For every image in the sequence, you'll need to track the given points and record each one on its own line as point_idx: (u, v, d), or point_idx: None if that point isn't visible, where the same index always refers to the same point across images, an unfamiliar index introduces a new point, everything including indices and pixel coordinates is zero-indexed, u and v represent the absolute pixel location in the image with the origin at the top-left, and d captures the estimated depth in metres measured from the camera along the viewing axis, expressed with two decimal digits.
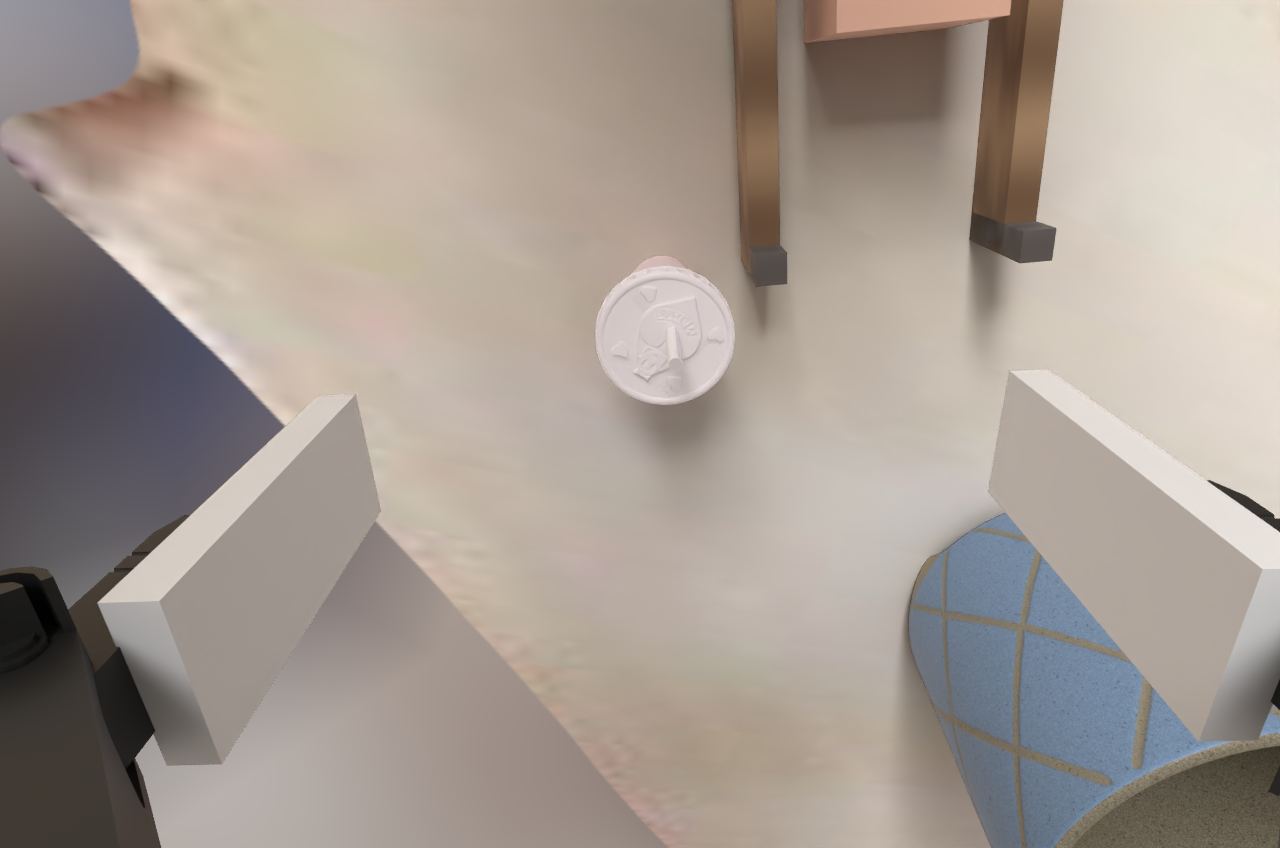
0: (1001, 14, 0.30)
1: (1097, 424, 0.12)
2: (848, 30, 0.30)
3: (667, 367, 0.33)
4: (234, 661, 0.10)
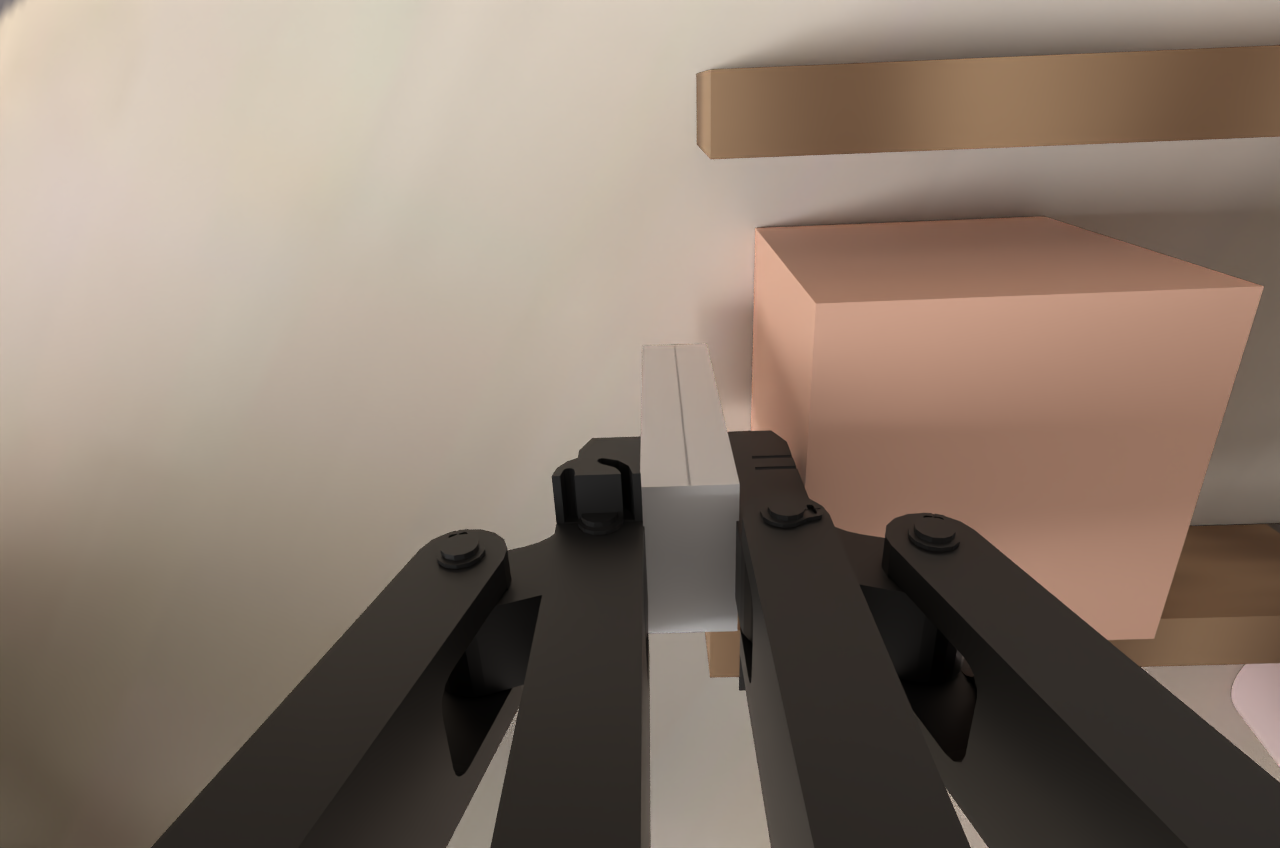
0: (1253, 307, 0.12)
1: (693, 385, 0.14)
2: (1156, 618, 0.14)
3: None
4: None
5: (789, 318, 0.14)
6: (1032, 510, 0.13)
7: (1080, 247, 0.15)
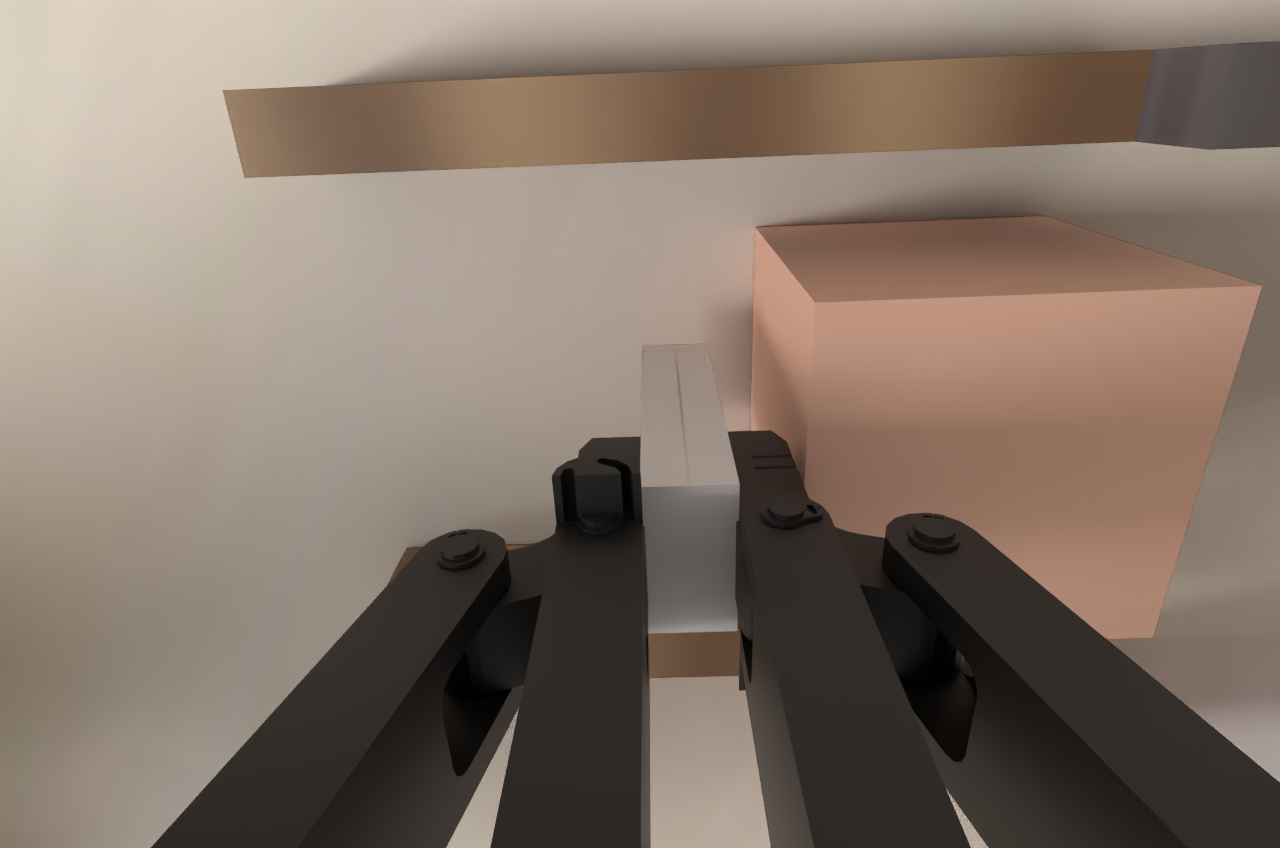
0: (1251, 306, 0.12)
1: (693, 385, 0.14)
2: (1155, 617, 0.14)
3: None
4: None
5: (788, 317, 0.14)
6: (1030, 510, 0.13)
7: (1079, 247, 0.15)
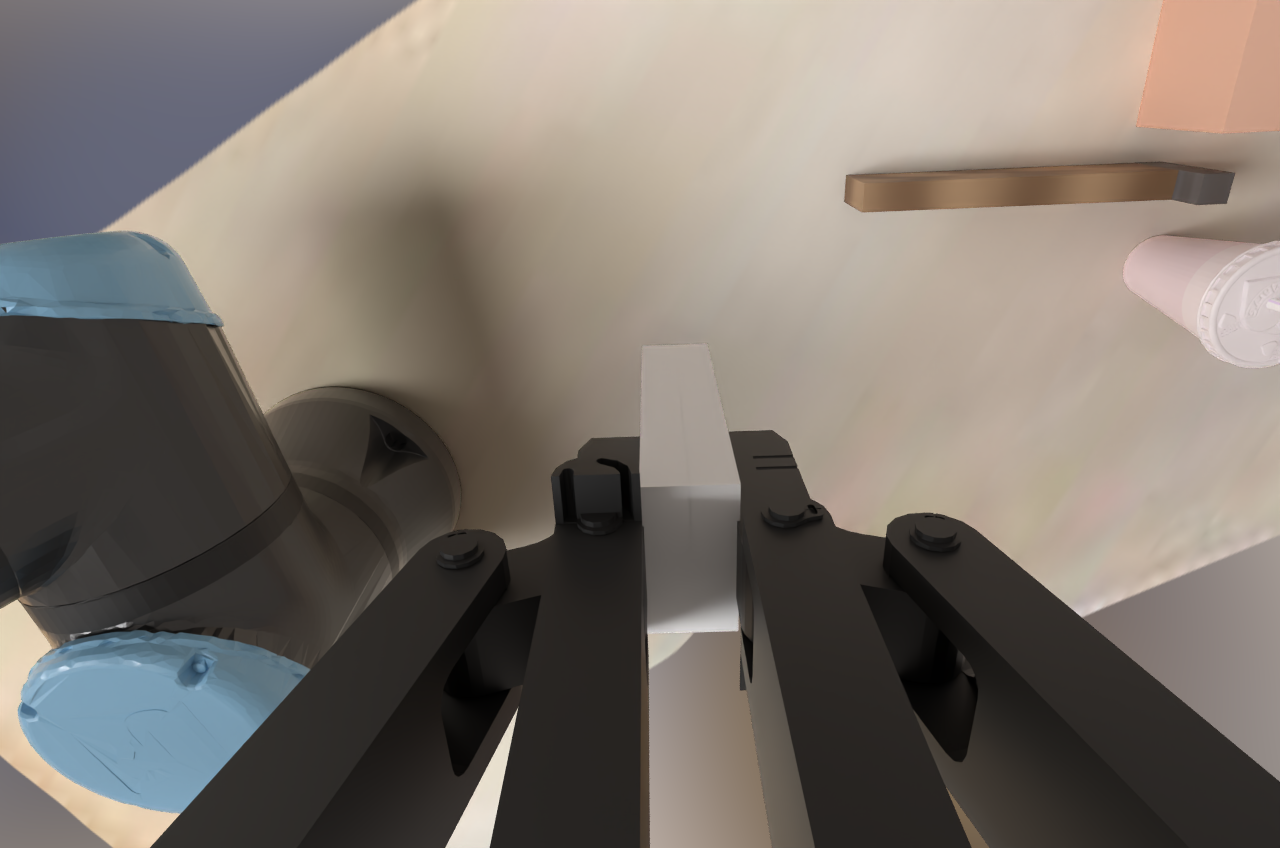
0: None
1: (694, 385, 0.14)
2: None
3: None
4: None
5: None
6: None
7: None
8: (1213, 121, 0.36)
